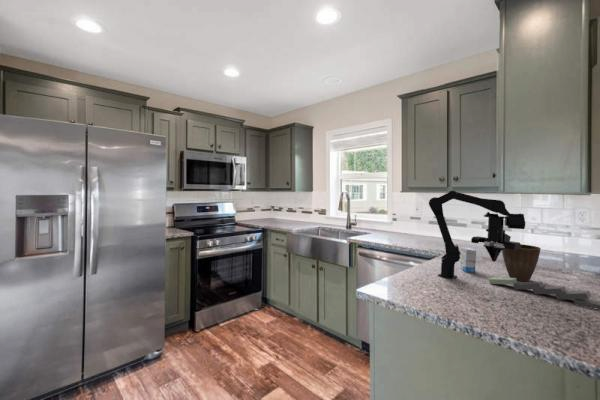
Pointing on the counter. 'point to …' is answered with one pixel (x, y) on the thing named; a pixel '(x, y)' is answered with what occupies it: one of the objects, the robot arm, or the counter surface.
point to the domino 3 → (574, 295)
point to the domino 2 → (550, 290)
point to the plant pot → (521, 261)
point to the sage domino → (503, 281)
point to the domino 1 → (528, 285)
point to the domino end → (587, 303)
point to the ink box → (468, 259)
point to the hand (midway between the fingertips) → (494, 261)
